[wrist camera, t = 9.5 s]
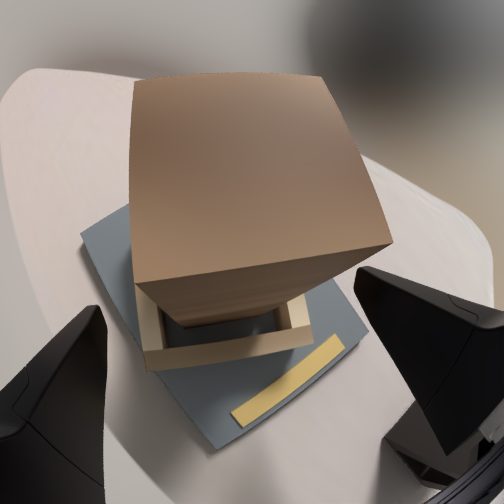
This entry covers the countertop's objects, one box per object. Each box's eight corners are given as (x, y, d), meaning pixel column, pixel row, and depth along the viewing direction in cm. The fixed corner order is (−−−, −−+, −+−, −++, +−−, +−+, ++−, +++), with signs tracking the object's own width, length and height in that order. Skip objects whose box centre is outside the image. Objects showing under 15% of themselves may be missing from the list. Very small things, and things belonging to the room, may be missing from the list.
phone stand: (382, 435, 17) (510, 471, 5) (428, 380, 19) (553, 375, 7) (422, 485, 15) (520, 518, 4) (461, 436, 17) (560, 446, 6)
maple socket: (295, 344, 17) (314, 343, 14) (155, 366, 15) (146, 371, 12) (269, 216, 19) (280, 194, 16) (140, 230, 17) (130, 209, 15)
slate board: (361, 332, 19) (370, 331, 18) (215, 444, 15) (216, 451, 14) (232, 157, 21) (234, 147, 20) (85, 238, 18) (79, 232, 16)
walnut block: (258, 316, 17) (393, 242, 5) (184, 329, 16) (134, 283, 4) (244, 246, 18) (321, 77, 6) (173, 256, 17) (134, 81, 5)
